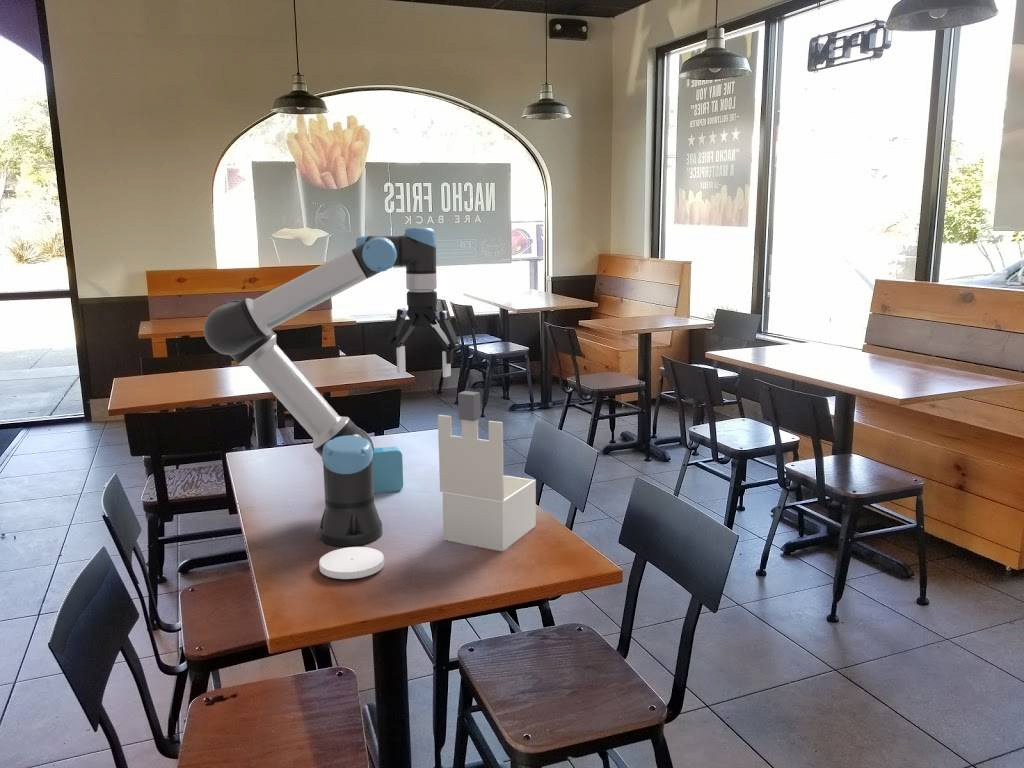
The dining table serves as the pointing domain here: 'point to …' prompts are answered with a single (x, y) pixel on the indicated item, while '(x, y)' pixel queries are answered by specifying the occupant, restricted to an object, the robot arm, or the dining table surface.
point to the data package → (387, 469)
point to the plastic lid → (351, 562)
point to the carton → (491, 516)
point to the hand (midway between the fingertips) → (423, 374)
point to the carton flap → (471, 453)
